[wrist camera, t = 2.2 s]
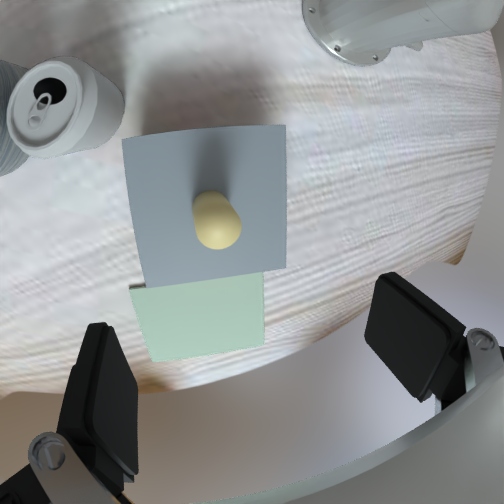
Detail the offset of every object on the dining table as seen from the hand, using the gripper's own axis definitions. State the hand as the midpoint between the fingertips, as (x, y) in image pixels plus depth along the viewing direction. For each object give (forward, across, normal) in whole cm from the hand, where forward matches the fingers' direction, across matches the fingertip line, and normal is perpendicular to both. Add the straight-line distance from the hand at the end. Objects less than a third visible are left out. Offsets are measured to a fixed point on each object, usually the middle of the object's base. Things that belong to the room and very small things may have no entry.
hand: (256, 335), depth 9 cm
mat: (+22, +2, +16) cm, 27 cm away
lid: (+16, 0, 0) cm, 16 cm away
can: (+22, +11, -10) cm, 27 cm away
